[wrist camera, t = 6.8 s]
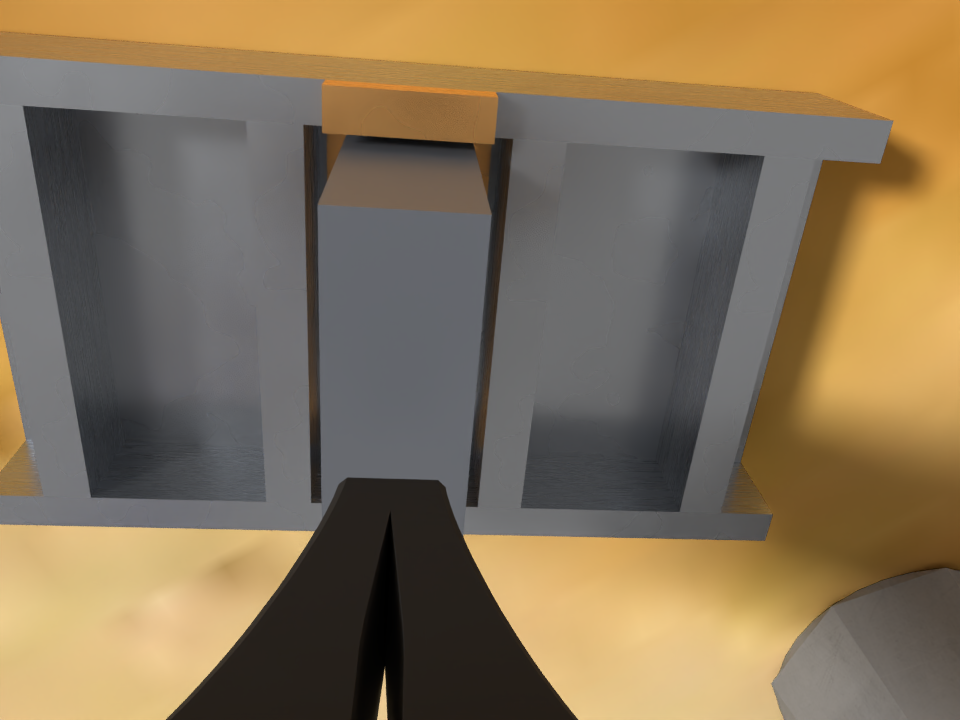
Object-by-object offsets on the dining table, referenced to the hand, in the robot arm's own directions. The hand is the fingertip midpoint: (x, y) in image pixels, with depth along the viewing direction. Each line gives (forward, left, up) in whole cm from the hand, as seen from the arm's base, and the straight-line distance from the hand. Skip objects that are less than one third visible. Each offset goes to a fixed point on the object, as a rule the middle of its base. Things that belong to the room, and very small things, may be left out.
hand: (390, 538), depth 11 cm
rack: (0, 0, -9) cm, 9 cm away
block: (0, 0, -8) cm, 8 cm away
